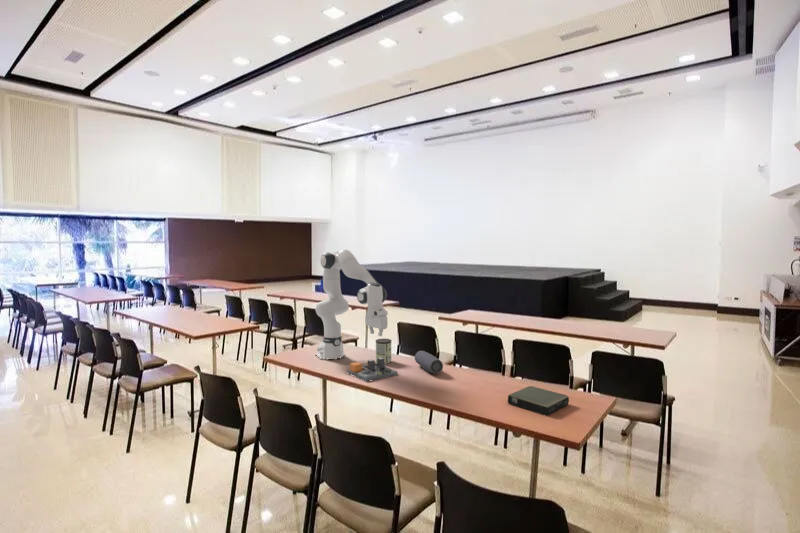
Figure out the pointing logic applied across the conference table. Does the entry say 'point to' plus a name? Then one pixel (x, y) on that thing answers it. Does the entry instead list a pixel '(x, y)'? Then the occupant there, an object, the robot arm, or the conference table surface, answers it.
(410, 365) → the conference table surface
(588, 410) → the conference table surface
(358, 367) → the orange block
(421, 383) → the conference table surface
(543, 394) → the network switch
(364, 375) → the panel
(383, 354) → the coffee can
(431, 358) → the bluetooth speaker
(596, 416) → the conference table surface
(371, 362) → the block
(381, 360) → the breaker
